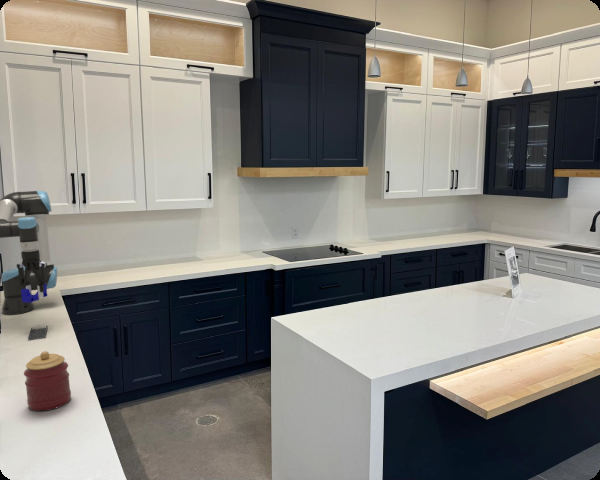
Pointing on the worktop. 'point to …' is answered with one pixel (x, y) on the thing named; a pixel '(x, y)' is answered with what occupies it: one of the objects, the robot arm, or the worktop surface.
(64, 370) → the canister
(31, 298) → the cable clip
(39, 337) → the rail
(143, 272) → the worktop surface
